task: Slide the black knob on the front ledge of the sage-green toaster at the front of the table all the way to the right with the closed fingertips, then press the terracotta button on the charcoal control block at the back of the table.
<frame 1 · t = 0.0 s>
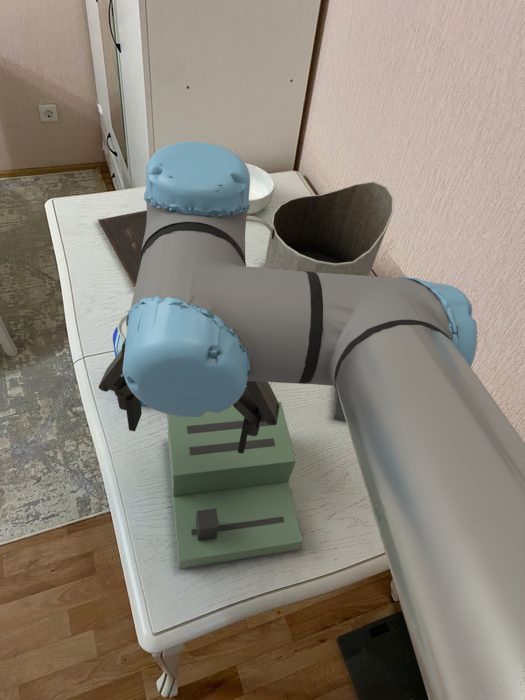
hand: (189, 432, 63), 18 cm above the table, tool pointing down, fingers open, 13 cm apart
beer can: (145, 389, 87), on the table
cereal bowl: (237, 205, 127), on the table
toaster: (226, 476, 79), on the table
start button: (368, 392, 87), point 5 cm above the table, slide at 0.1 cm
hardcover book: (151, 251, 111), on the table
supplement tub: (190, 328, 98), on the table
slider knob: (206, 524, 67), point 6 cm above the table, slide at 0.0 cm
pitcher: (290, 295, 108), on the table
control block: (360, 409, 90), on the table
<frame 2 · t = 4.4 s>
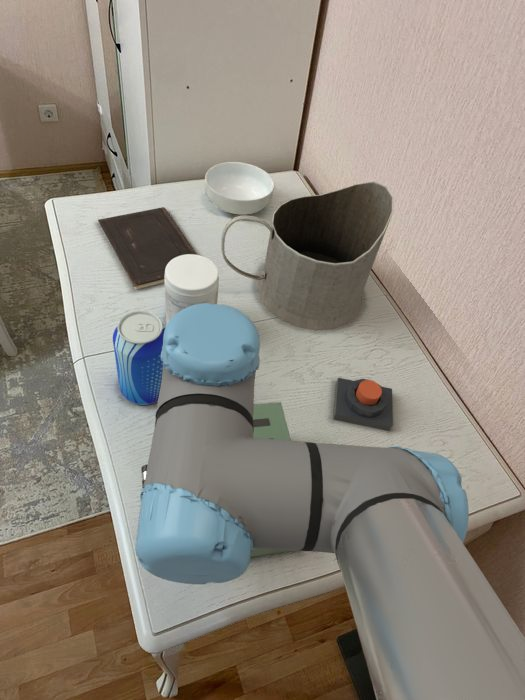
hand: (196, 526, 67), 6 cm above the table, tool pointing down, fingers closed
slider knob: (211, 523, 67), point 6 cm above the table, slide at 0.7 cm, touching gripper
everything else where it was.
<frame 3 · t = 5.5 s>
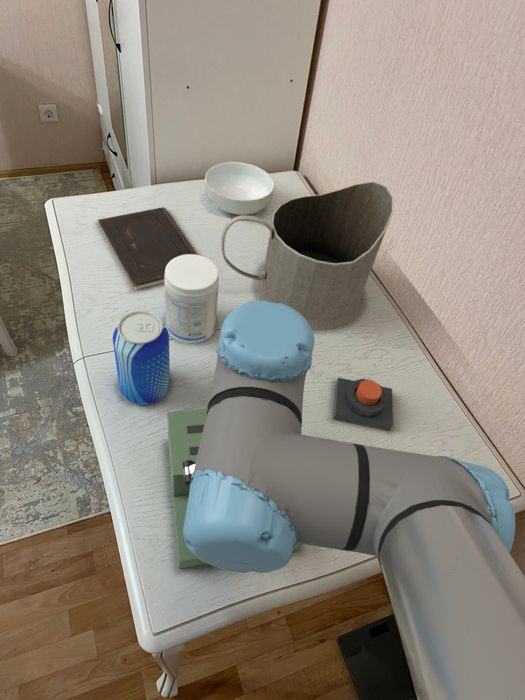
hand: (229, 521, 68), 6 cm above the table, tool pointing down, fingers closed
slider knob: (243, 519, 68), point 6 cm above the table, slide at 5.0 cm, touching gripper
everything else where it was.
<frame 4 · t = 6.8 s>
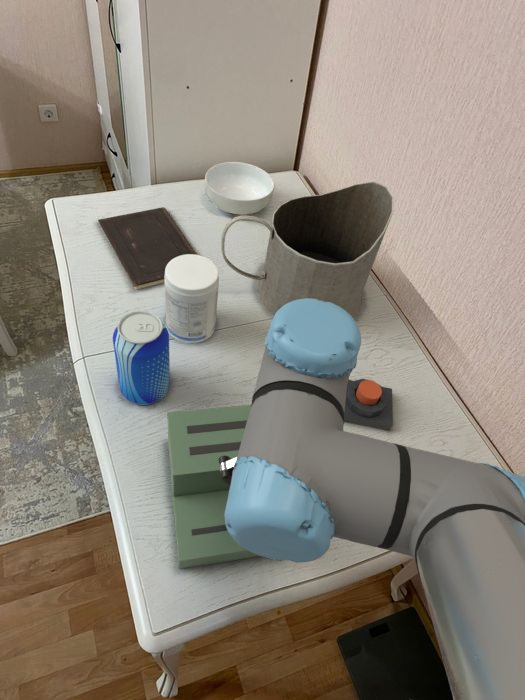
hand: (257, 517, 69), 6 cm above the table, tool pointing down, fingers closed
slider knob: (271, 515, 69), point 6 cm above the table, slide at 9.0 cm, touching gripper
everything else where it was.
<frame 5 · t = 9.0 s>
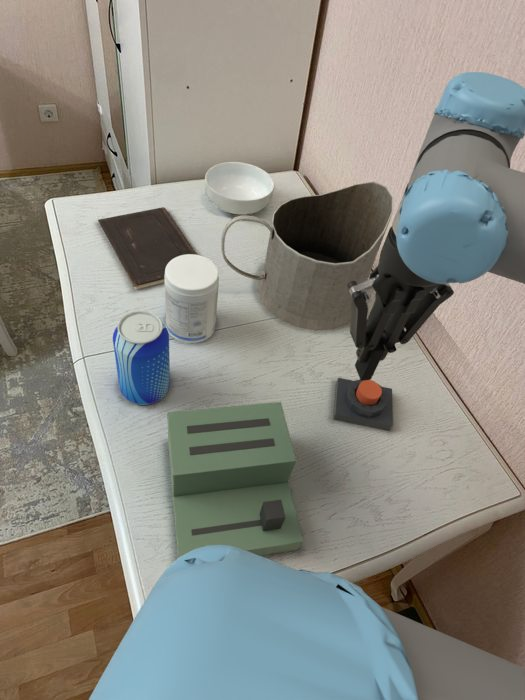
hand: (362, 372, 71), 19 cm above the table, tool pointing down, fingers closed
slider knob: (272, 515, 69), point 6 cm above the table, slide at 9.0 cm
everything else where it was.
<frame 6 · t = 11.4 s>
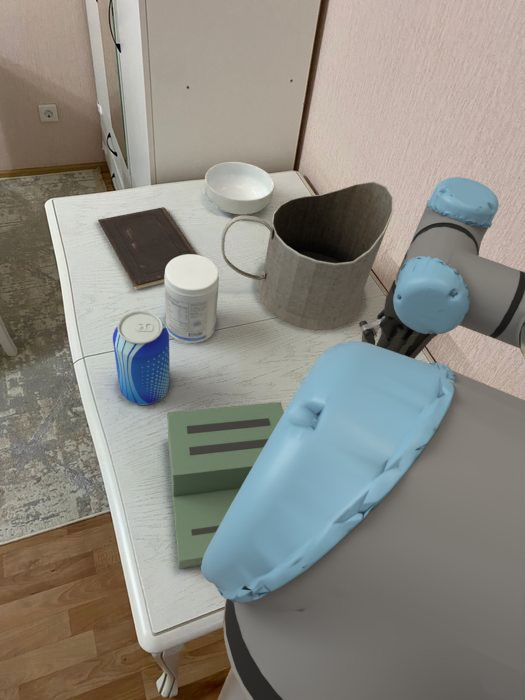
hand: (369, 390, 86), 6 cm above the table, tool pointing down, fingers closed
start button: (367, 394, 87), point 4 cm above the table, slide at -0.5 cm, touching gripper
everything else where it was.
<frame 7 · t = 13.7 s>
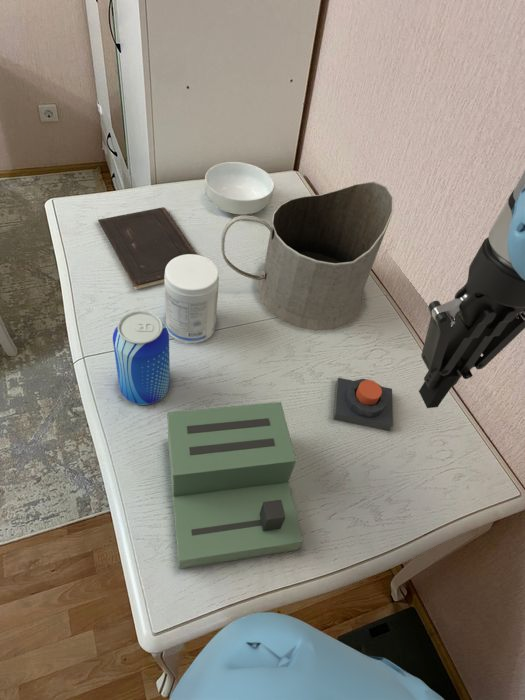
hand: (428, 399, 65), 23 cm above the table, tool pointing down, fingers closed
start button: (368, 392, 87), point 5 cm above the table, slide at 0.1 cm
everything else where it was.
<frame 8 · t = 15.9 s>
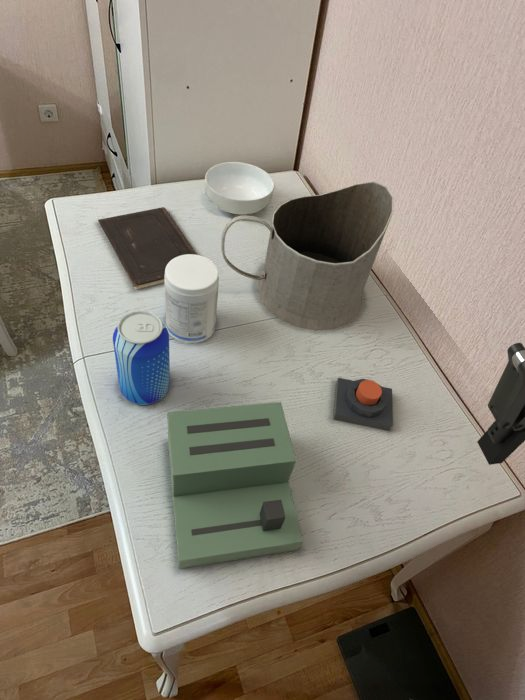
hand: (489, 452, 52), 29 cm above the table, tool pointing down, fingers closed
nothing on the table moved.
at the end: slider knob slide at 9.0 cm; start button pushed in 1.0 cm at the most during the clip, back to where it started at the end; start button slide at 0.1 cm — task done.
